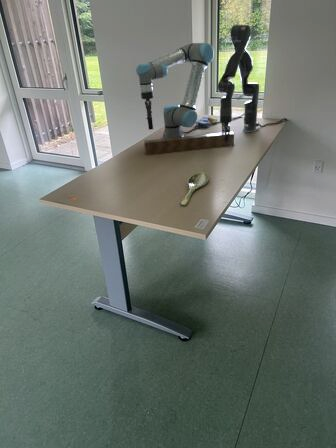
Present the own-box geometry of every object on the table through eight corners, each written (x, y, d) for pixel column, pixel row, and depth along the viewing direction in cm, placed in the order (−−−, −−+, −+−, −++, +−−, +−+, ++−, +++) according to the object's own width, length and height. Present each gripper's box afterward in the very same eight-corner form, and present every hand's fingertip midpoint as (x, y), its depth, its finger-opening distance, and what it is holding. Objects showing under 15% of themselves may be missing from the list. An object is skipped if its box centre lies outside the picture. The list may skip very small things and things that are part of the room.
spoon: (193, 209, 156) (193, 205, 155) (172, 207, 159) (171, 203, 158) (212, 175, 182) (212, 172, 181) (193, 174, 186) (193, 170, 184)
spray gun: (219, 120, 278) (203, 120, 284) (219, 115, 276) (202, 115, 282) (211, 128, 263) (193, 127, 269) (211, 122, 261) (193, 122, 267)
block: (145, 154, 222) (144, 142, 217) (145, 152, 226) (144, 140, 222) (233, 145, 223) (234, 133, 219) (232, 143, 228) (232, 131, 223)
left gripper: (153, 94, 193) (157, 131, 204) (152, 87, 214) (155, 120, 225) (141, 95, 193) (145, 132, 204) (140, 88, 214) (144, 122, 225)
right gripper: (234, 116, 209) (233, 142, 217) (228, 111, 221) (228, 136, 230) (222, 117, 208) (222, 143, 217) (217, 112, 221) (217, 137, 229)
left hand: (150, 126), depth 215 cm, fingers open, 13 cm apart
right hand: (225, 139), depth 223 cm, fingers open, 6 cm apart
